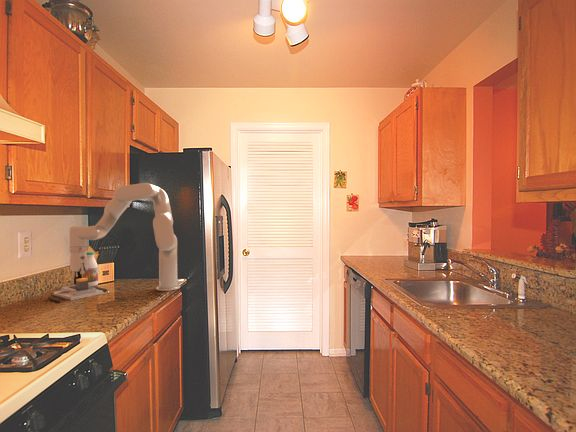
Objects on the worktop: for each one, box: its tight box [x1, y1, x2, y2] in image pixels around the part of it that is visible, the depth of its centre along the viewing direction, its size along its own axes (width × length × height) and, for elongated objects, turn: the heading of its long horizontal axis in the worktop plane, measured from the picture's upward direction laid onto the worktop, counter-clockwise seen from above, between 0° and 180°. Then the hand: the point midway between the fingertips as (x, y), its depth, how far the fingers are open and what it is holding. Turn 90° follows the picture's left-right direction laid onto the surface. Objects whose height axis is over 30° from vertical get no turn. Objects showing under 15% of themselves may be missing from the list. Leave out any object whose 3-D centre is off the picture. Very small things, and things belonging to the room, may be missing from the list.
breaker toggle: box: [76, 278, 88, 290], centre depth 162 cm, size 4×4×7 cm
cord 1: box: [48, 296, 63, 304], centre depth 152 cm, size 13×1×1 cm, turn 57°
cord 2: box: [93, 285, 108, 293], centre depth 173 cm, size 13×3×1 cm, turn 57°
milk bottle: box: [82, 251, 99, 287], centre depth 184 cm, size 8×8×20 cm
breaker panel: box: [53, 284, 104, 301], centre depth 165 cm, size 15×20×4 cm
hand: (78, 284), depth 165 cm, fingers closed
